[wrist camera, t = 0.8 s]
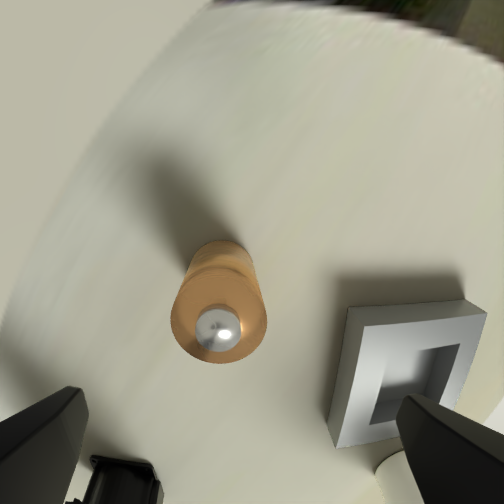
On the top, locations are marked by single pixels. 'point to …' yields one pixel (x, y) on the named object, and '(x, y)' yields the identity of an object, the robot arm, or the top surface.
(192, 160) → the top surface
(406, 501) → the drinking glass
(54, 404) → the robot arm
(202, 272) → the battery cell
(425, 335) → the gray cradle
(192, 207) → the top surface
